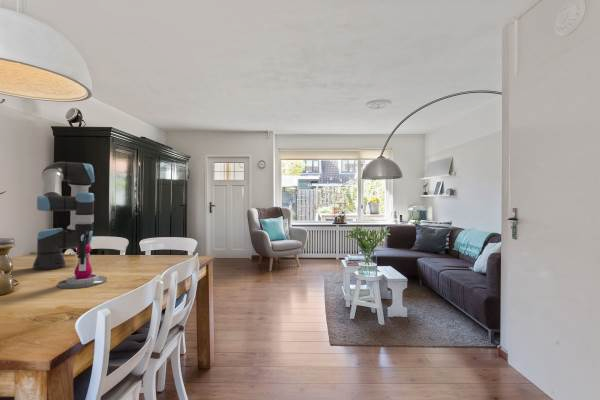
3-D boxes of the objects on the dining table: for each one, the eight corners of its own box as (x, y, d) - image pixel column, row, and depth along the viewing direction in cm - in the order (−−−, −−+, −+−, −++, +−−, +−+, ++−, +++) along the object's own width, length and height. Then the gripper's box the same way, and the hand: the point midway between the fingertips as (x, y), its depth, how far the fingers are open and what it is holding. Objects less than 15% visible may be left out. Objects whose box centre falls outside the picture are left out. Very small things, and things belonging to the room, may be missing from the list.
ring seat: (62, 280, 153) (62, 274, 153) (108, 276, 162) (108, 270, 162) (52, 290, 135) (52, 284, 135) (105, 285, 145) (105, 279, 145)
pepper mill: (84, 282, 145) (85, 242, 145) (70, 282, 145) (71, 241, 145) (95, 279, 152) (96, 240, 152) (81, 278, 152) (82, 239, 152)
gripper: (78, 222, 155) (77, 265, 155) (71, 224, 138) (70, 274, 138) (95, 221, 159) (94, 264, 159) (90, 224, 142) (89, 272, 142)
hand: (83, 269), depth 149 cm, fingers closed on pepper mill, 6 cm apart
